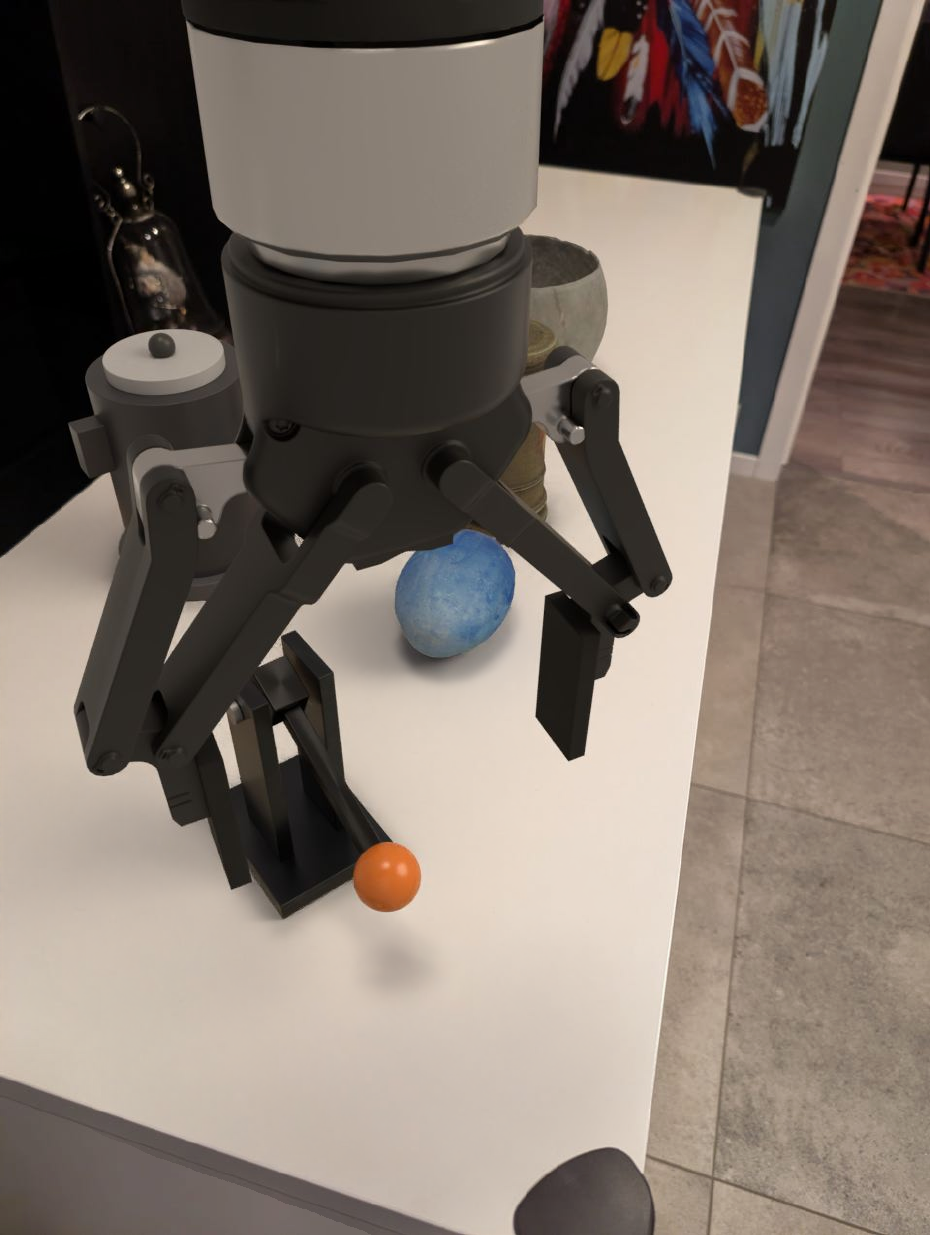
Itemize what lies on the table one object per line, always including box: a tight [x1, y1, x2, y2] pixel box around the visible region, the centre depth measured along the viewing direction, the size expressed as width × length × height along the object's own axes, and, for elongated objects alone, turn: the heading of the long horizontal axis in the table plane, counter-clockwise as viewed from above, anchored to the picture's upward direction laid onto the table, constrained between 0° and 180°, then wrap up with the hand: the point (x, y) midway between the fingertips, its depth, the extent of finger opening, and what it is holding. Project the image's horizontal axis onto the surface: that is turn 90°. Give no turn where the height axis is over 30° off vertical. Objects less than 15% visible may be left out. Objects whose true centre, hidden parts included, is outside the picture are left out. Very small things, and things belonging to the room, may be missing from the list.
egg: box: [394, 529, 516, 659], centre depth 76 cm, size 9×9×15 cm
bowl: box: [524, 233, 609, 363], centre depth 105 cm, size 20×20×15 cm
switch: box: [250, 655, 422, 913], centre depth 52 cm, size 15×4×4 cm, turn 37°
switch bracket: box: [225, 630, 394, 919], centre depth 58 cm, size 10×8×15 cm
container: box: [463, 318, 558, 544], centre depth 85 cm, size 9×9×18 cm
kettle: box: [68, 328, 259, 602], centre depth 79 cm, size 17×14×20 cm
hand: (405, 793), depth 37 cm, fingers open, 13 cm apart
